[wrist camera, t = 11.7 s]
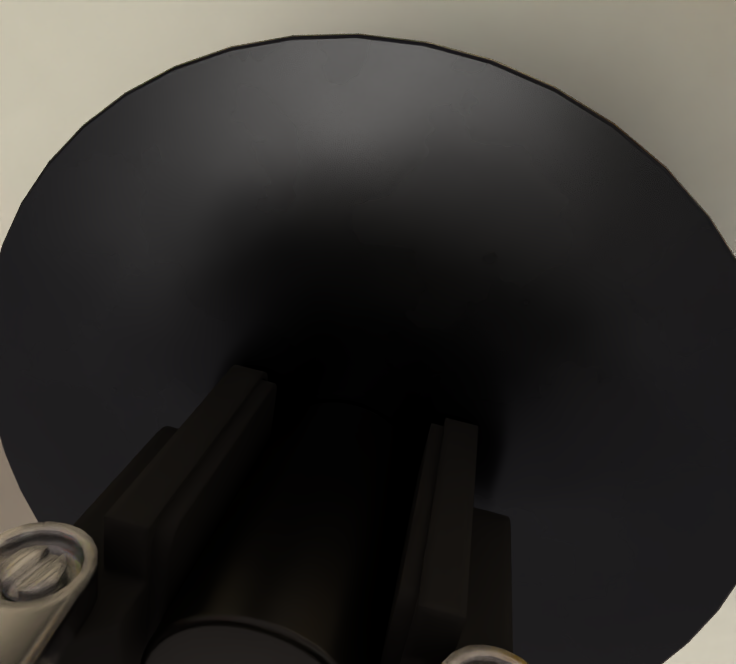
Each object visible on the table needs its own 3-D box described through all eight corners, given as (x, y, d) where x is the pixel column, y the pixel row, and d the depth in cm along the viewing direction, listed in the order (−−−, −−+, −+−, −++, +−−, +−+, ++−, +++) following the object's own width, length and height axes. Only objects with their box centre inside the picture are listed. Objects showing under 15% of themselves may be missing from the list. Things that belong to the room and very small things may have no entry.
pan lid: (932, 139, 8) (1570, 269, 3) (600, 760, 14) (654, 1154, 9) (2, -42, 10) (-535, -142, 5) (40, 592, 15) (-184, 854, 10)
